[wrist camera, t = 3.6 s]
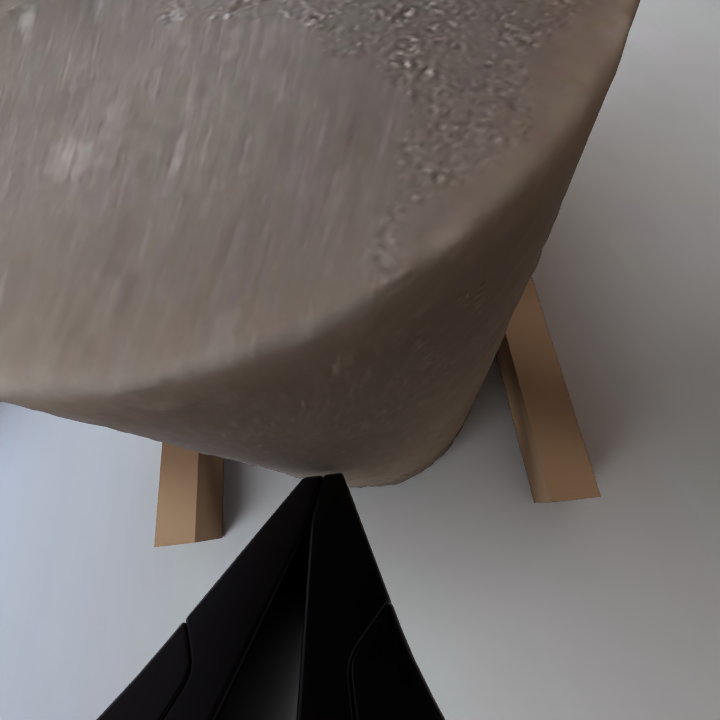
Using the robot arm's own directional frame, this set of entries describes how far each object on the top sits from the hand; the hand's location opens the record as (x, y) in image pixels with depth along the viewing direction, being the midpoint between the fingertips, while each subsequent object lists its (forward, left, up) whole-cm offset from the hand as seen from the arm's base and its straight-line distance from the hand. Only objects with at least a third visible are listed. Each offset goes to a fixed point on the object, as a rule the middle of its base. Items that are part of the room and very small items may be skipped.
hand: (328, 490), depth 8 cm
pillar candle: (+5, -1, -8) cm, 9 cm away
